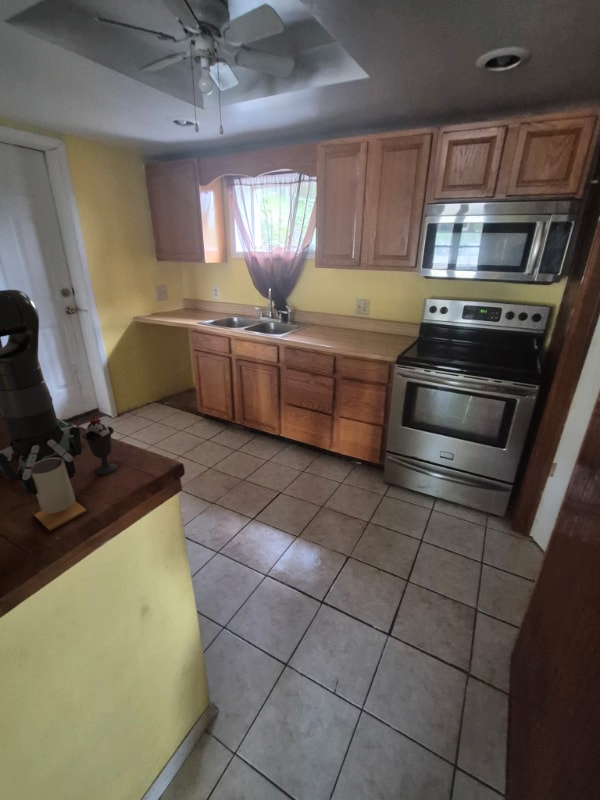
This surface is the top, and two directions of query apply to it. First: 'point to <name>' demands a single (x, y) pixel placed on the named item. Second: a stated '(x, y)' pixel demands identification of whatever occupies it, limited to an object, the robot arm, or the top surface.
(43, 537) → the top surface
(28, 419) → the robot arm
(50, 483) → the coffee cup
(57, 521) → the coaster
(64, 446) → the bin
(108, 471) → the sundae
